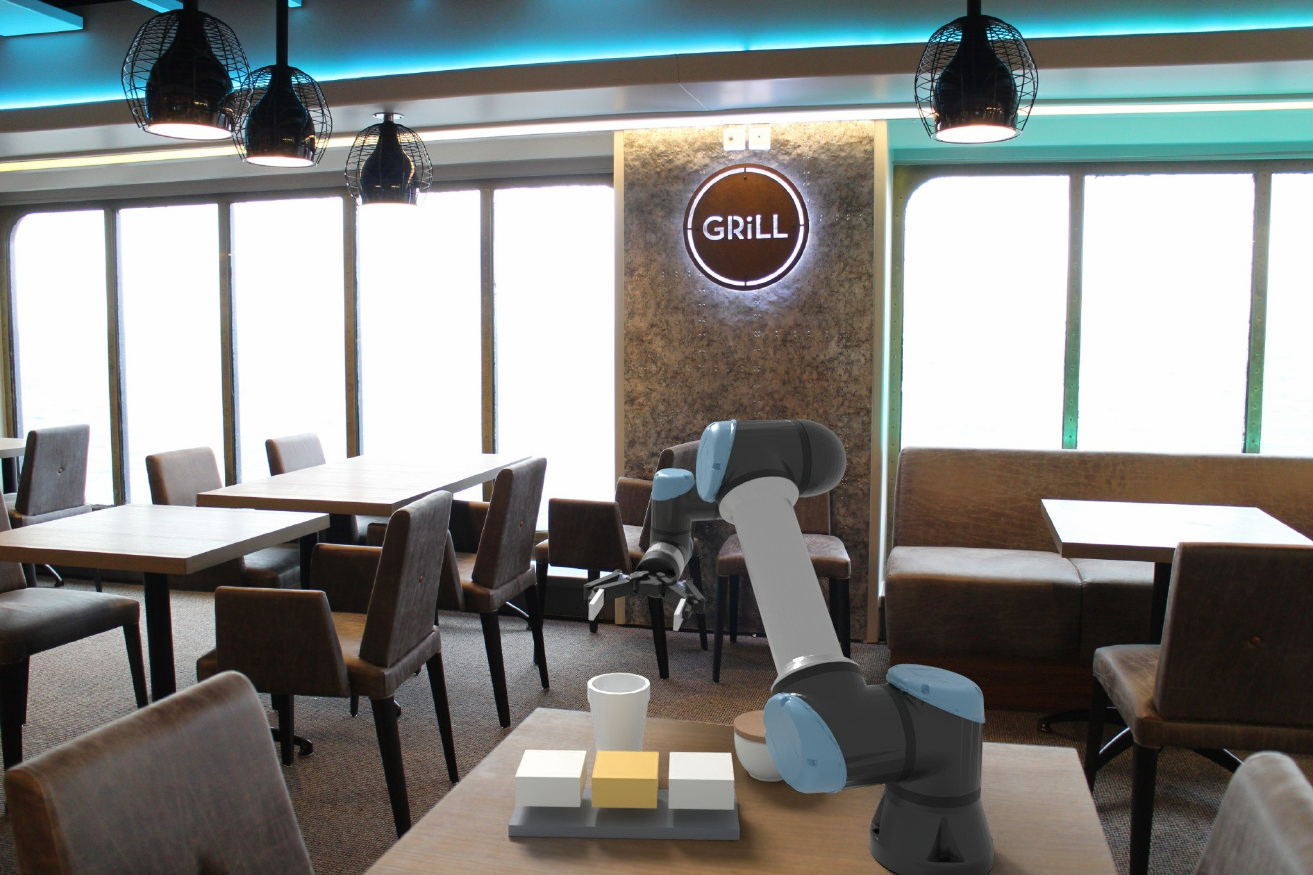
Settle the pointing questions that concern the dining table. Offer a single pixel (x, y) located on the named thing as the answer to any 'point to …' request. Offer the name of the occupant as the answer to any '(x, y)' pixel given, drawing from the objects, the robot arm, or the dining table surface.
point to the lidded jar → (754, 747)
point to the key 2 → (701, 781)
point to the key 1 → (551, 778)
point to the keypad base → (626, 821)
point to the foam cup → (618, 710)
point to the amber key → (625, 779)
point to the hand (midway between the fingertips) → (633, 617)
